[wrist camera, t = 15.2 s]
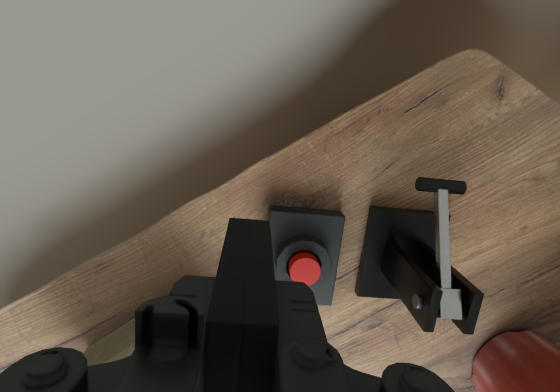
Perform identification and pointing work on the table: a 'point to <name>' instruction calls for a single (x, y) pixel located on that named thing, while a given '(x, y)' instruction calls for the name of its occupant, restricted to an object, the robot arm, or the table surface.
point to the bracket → (410, 267)
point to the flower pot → (517, 364)
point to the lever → (444, 242)
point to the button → (304, 268)
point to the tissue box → (113, 345)
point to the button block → (307, 244)
